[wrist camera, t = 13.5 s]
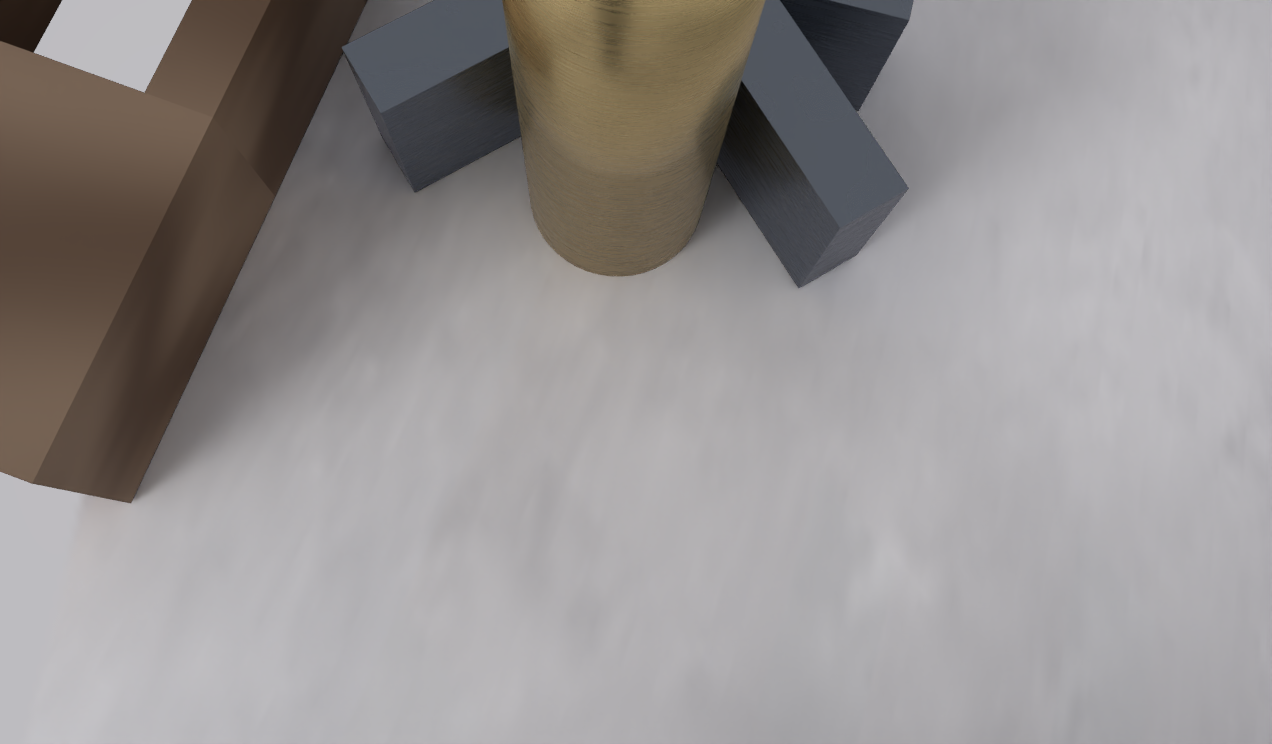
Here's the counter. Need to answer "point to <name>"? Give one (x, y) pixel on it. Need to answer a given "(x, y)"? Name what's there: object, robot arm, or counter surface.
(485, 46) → the steel V-block
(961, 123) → the counter surface
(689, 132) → the brass axle
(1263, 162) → the counter surface
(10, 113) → the wooden socket block
